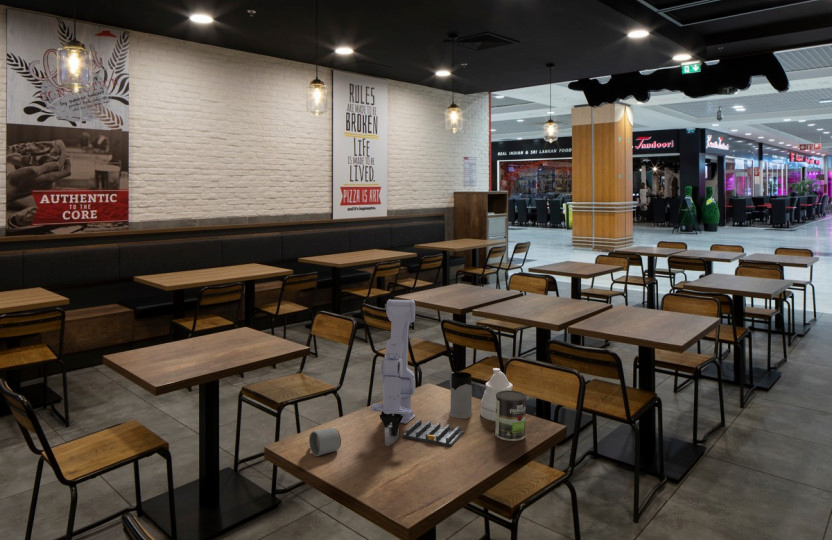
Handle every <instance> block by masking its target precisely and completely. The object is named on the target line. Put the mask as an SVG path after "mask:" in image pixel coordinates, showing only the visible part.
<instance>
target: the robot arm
mask: <svg viewBox="0 0 832 540" xmlns="http://www.w3.org/2000/svg"><path fill="white" fill-rule="evenodd" d="M385 308H386V309H385V310H386V311H385V312H386V316H387V318H388V320H389V321H390V324H391V328H390V338H389V339H388V340H387V341H386V343H385V344H386V346H385V351H384V359H383V360H382V361H381V364H380V374H381V382H382V403H372V404H371V406H370V411H371V412H380V414H379V418H380V420H381V422H382V424H383V426H384V428H385V427H386V426H388V425H389V424H390V423H391V422H392V435H393V436H396V435H397V432H398V428H399V429H400V424H405V425H406V424H408V423H409V422H410V421H411V420H413V419H414V418H415V417H416V415H415V414H414V410H413V409H412V405H411V404H412V396H413V395H414V394H415V390H416V379H415V377H416V376H415V373H414V371H412V370H411V369H410V368H409V367H408V365H409V364H408V363H409V362H408V357H409V356H408V355H409V354H408V353H409V328H410V324H411V323H414V322H415V320H416V302H415V300H414V299H390V298H389V299H388V300H387V302H386V307H385Z"/></svg>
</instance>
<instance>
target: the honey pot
mask: <svg viewBox="0 0 832 540" xmlns="http://www.w3.org/2000/svg"><path fill="white" fill-rule="evenodd" d="M492 372H493V374H492V376H491V377H490V379H489V380H488V381H487V382H485V387H486V388H485V390H484V392H483V395H482V398H481V400H480V415H481V417H482V418H483V419H486V420H489V421H492V422H496V393H498V392H500V391H507V390H510V391H513V389H512V388H513V387H514V386H513V383H511V382H510V381H509V379H508V377H507V376H506V374H505V373H504V372H502V371H501V369H500V368H497V367H495V368H494V367H493V368H492Z"/></svg>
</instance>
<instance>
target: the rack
mask: <svg viewBox="0 0 832 540" xmlns="http://www.w3.org/2000/svg"><path fill="white" fill-rule="evenodd" d="M441 423H442V422H437V423H436V424H432V420H427V422H423V420H422V418H419V419H418V420H416V421H415V422H414V423H413V424H411V425H410V426H409V427H408V428H407V429H406V430H405V432H404V433H403V434H402V438H405V439H410V440H413V441H419V442H425V443H429V444H434V445H440V446H445V447H452V446H453V444H455V442H456V441H457V440H458V439H459V438H460V437H461V436H462V435H463V434H464V430H463V429H461V427H460V425H457V426H456V427H455V428H453V427H451V423H447V424H446V425H445V426H442V425H441Z"/></svg>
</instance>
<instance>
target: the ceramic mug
mask: <svg viewBox="0 0 832 540" xmlns="http://www.w3.org/2000/svg"><path fill="white" fill-rule="evenodd" d="M308 439H309V440H308V444H309V448H310V451H311V453H312V455H313V456H315V457H320V456H323V455H325V454H329V453H334V452H336V451H338V450H339V449H340V448H341V446H342V437H341V433H340V432H339V430H338V428H335V427H334V428H333V427H329V428H324V429H318V430H312V432H311V433H309V438H308Z"/></svg>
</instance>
